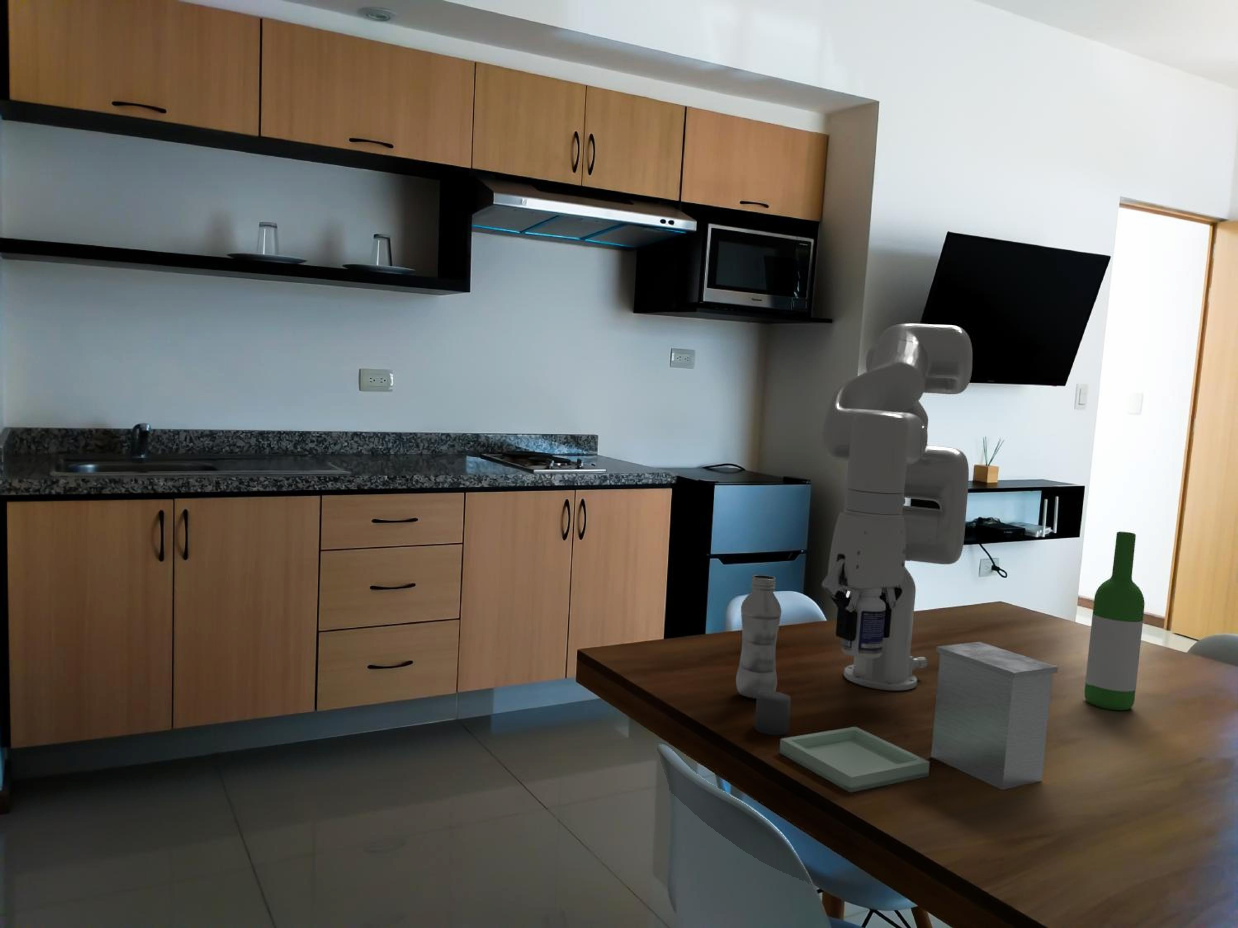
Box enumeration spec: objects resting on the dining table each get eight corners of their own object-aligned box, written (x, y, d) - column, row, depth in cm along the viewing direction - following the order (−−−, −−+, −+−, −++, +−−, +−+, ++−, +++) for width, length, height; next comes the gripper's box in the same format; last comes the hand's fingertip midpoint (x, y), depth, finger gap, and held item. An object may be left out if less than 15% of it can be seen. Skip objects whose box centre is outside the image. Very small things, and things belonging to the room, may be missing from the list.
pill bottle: (886, 653, 131) (893, 583, 130) (874, 661, 126) (881, 588, 126) (848, 645, 134) (854, 576, 133) (835, 653, 129) (841, 581, 129)
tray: (854, 739, 141) (855, 726, 140) (928, 776, 128) (929, 761, 128) (779, 752, 134) (780, 738, 133) (850, 792, 121) (851, 776, 121)
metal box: (969, 747, 140) (979, 641, 139) (1046, 781, 129) (1058, 666, 128) (926, 755, 136) (936, 646, 135) (1002, 791, 125) (1014, 672, 124)
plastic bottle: (775, 705, 154) (784, 582, 152) (732, 700, 155) (741, 578, 154) (776, 693, 160) (785, 575, 159) (736, 688, 161) (744, 571, 160)
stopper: (774, 721, 146) (776, 689, 146) (795, 732, 142) (798, 699, 142) (747, 725, 144) (750, 693, 143) (768, 737, 140) (771, 703, 139)
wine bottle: (1114, 714, 161) (1133, 536, 158) (1073, 699, 167) (1091, 529, 165) (1143, 709, 164) (1162, 536, 162) (1102, 695, 171) (1120, 528, 169)
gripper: (899, 500, 136) (888, 626, 138) (805, 500, 128) (795, 634, 129) (940, 508, 130) (928, 639, 131) (845, 508, 121) (833, 649, 122)
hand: (862, 635), depth 130 cm, fingers closed on pill bottle, 5 cm apart
